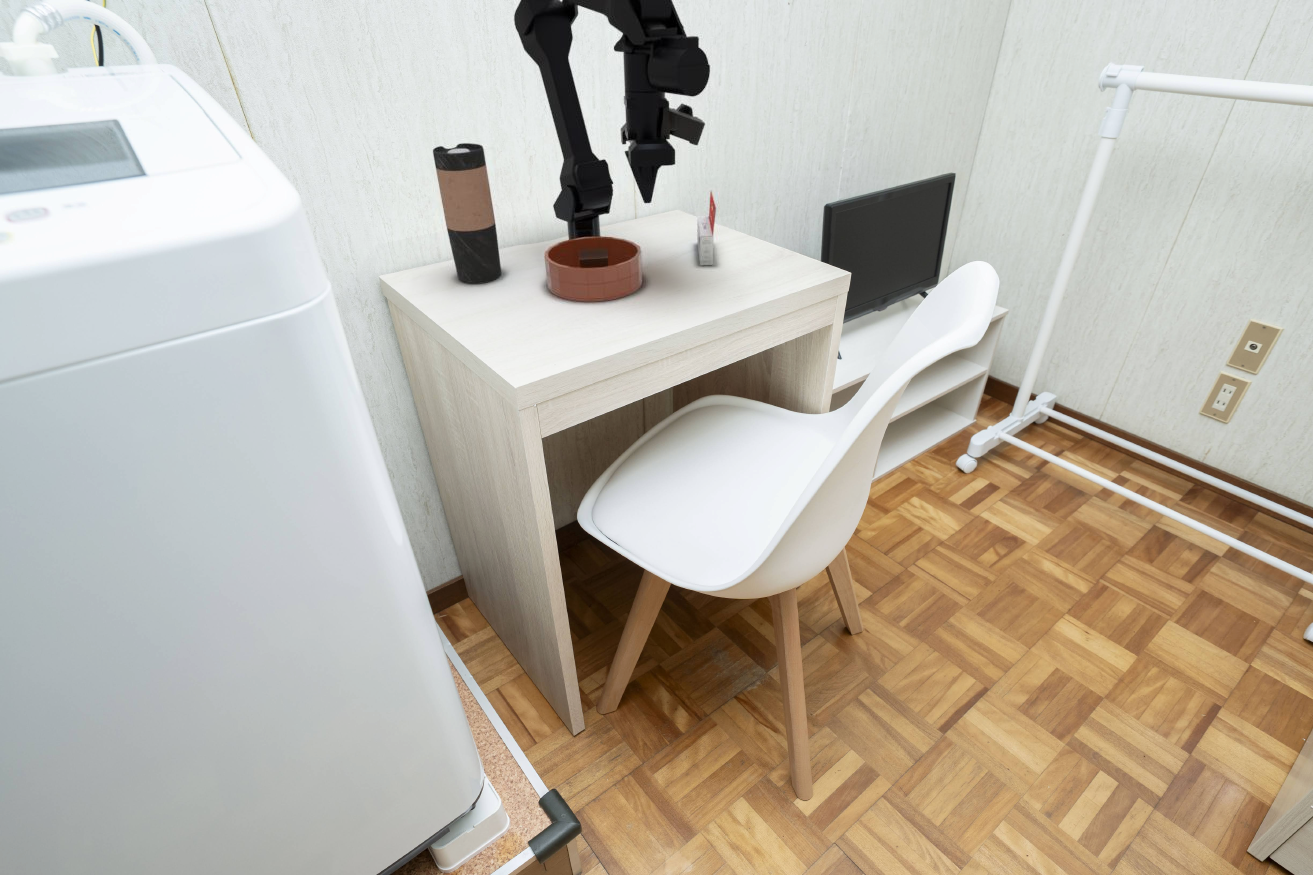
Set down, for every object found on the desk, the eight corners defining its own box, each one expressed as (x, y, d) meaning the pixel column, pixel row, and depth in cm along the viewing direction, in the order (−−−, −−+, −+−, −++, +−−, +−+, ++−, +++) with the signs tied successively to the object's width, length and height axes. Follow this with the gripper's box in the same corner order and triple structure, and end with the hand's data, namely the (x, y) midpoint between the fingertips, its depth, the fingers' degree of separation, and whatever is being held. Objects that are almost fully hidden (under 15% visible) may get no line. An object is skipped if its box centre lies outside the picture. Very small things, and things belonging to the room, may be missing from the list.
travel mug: (492, 285, 108) (470, 154, 96) (448, 282, 109) (422, 153, 98) (510, 269, 114) (491, 143, 102) (468, 266, 115) (446, 142, 104)
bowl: (548, 269, 113) (545, 239, 111) (637, 264, 115) (636, 234, 112) (547, 304, 101) (543, 271, 98) (646, 298, 102) (645, 265, 99)
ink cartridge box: (699, 266, 114) (701, 207, 108) (696, 244, 123) (697, 190, 117) (714, 265, 114) (716, 207, 108) (709, 244, 123) (711, 189, 117)
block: (581, 276, 109) (578, 249, 107) (607, 274, 110) (606, 248, 107) (581, 286, 106) (579, 259, 103) (609, 284, 106) (607, 257, 104)
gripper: (713, 97, 87) (709, 217, 96) (690, 80, 103) (689, 185, 111) (628, 100, 86) (633, 221, 95) (618, 82, 102) (622, 188, 110)
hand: (647, 202), depth 103 cm, fingers closed
